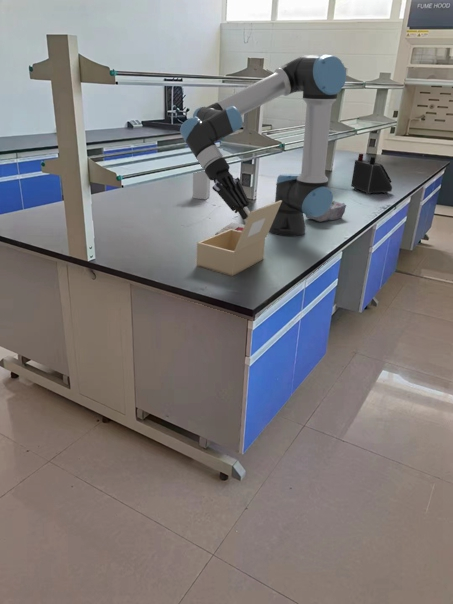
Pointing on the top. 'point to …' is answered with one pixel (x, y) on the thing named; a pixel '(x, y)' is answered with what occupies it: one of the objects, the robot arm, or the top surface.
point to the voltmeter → (370, 176)
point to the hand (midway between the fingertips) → (253, 226)
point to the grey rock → (331, 212)
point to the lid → (257, 225)
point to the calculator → (232, 227)
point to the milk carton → (201, 185)
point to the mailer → (228, 253)
